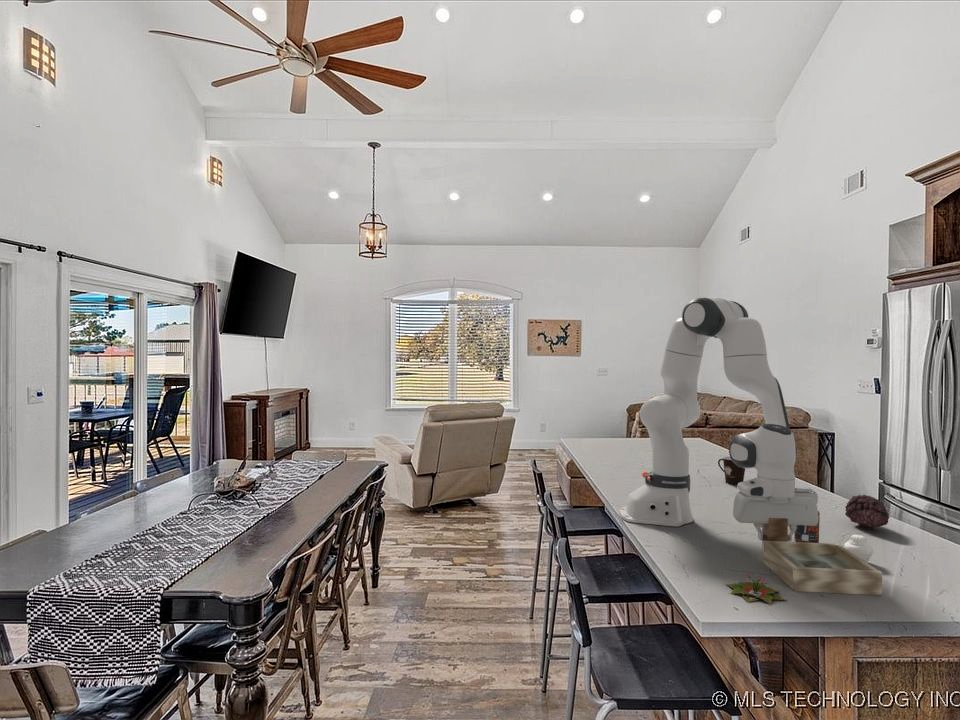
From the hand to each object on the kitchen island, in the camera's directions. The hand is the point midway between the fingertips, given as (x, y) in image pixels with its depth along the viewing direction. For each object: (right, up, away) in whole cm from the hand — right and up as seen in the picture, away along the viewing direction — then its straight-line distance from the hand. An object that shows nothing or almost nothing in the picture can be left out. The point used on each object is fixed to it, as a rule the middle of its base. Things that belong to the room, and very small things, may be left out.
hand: (774, 540), depth 145 cm
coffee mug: (+25, -3, +80) cm, 84 cm away
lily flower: (-17, -5, -23) cm, 29 cm away
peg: (0, -4, 0) cm, 4 cm away
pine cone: (+39, -4, +22) cm, 45 cm away
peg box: (+2, -4, -14) cm, 15 cm away
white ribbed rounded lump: (+19, -4, -5) cm, 20 cm away
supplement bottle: (+14, -4, +10) cm, 17 cm away
